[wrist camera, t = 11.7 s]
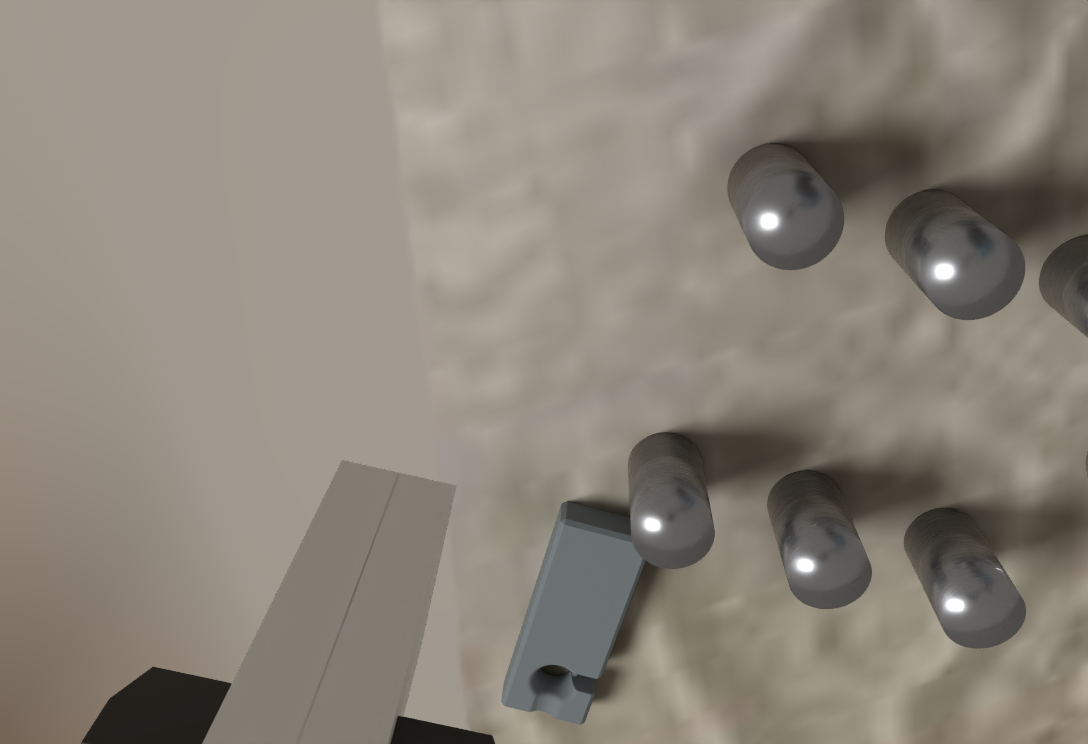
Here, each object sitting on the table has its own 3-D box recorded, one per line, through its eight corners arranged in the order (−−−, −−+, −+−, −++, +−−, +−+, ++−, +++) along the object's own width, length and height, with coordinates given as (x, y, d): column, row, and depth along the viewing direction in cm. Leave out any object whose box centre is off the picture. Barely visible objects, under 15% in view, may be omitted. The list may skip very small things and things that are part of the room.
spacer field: (744, 133, 34) (766, 164, 30) (1141, 248, 35) (1221, 295, 31) (618, 486, 40) (620, 556, 36) (959, 576, 41) (1003, 656, 37)
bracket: (652, 517, 41) (653, 544, 40) (585, 697, 46) (583, 729, 44) (562, 493, 41) (560, 519, 39) (503, 677, 46) (499, 708, 44)
